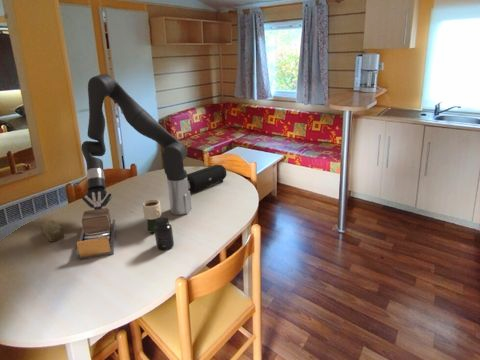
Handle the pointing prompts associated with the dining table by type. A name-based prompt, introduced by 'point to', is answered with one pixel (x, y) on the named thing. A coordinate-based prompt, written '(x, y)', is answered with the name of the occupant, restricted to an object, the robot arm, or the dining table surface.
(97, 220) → the brown wooden block
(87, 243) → the roller track
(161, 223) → the supplement bottle
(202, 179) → the portable speaker
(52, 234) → the stone block
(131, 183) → the dining table surface
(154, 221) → the character mug
